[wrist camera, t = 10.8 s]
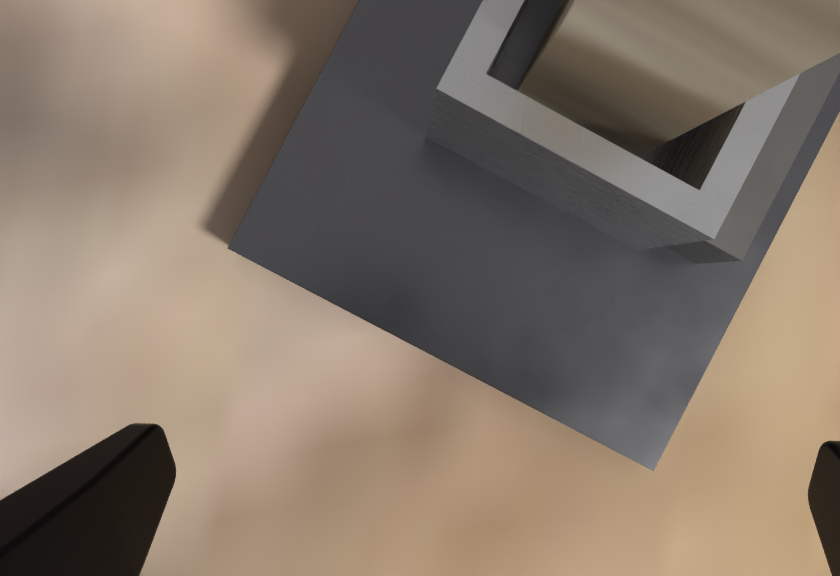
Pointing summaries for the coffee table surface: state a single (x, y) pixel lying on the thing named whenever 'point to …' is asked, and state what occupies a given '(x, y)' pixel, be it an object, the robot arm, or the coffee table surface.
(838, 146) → the coffee table surface
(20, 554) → the robot arm
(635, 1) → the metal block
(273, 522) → the coffee table surface
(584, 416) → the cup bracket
